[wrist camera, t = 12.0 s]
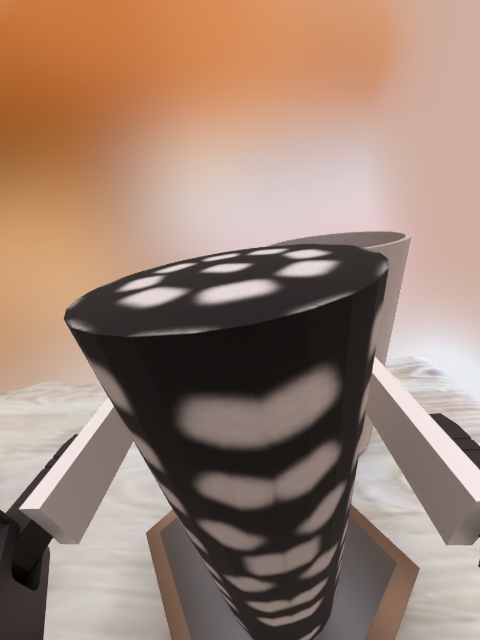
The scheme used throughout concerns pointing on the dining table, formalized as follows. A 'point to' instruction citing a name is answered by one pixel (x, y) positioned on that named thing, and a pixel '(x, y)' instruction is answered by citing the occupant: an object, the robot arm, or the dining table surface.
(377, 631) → the display pedestal
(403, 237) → the cylinder vase
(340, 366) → the spotted tube
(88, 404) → the dining table surface
